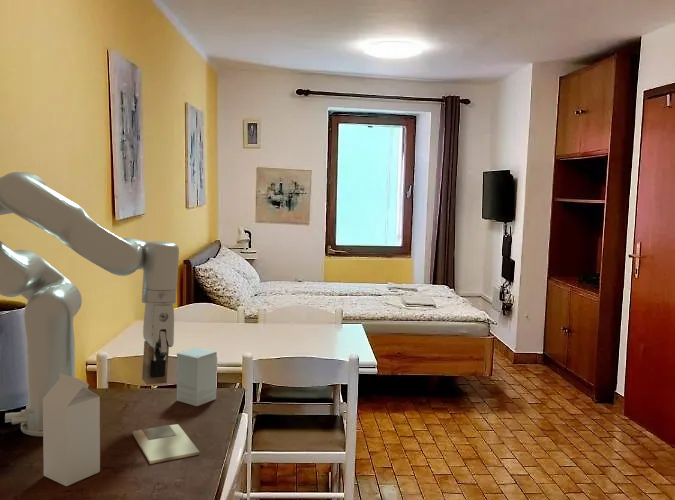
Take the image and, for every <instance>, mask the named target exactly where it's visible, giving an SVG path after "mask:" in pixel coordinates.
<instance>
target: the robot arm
mask: <svg viewBox="0 0 675 500" xmlns="http://www.w3.org/2000/svg"><path fill="white" fill-rule="evenodd" d="M9 214H15V215H17V216H18V217H19V218H21V219H23V220H25V221H27V222H28V223H30V224H32V225H33V226H35V227H37V228H39V229H41V230H42V231H44V232H45V233H47V234H49V235H51V236H52V237H54V238H56V239H57V240H59V241H60V242H61V243H62V244H64V245H65V246H67V247H68V248H70V249H71V250H72V251H73V252H75V253H76V254H78V255H79V256H80V257H82V258H84V259H86V260H87V261H89V262H91V263H92V264H94V265H96V266H97V267H99V268H100V269H103V270H104V271H106V272H109V273H111V274H112V275H115V276H120V277H124V276H125V277H126V276H129V275H132V274H133V273H135V272H136V271H138V270H143V273H142V274H143V275H142V291H141V303H143V304H144V305H145V306H144V312H143V313H144V314H143V327H142V328H143V329H142V331H143V332H142V335H143V339H144V341H146V342H147V343H148V344H149V345H150V346H151V347H153V360H151V368H150V377H151V378H156V377H164V376H165V364H166V353H167V344H168V346H169V348H172V347H174V341H175V310H174V305H175V304H176V303H177V290H178V289H177V288H178V273H179V272H178V271H179V257H180V256H179V255H180V248H179V245H177V244H176V243H175V242H171V241H147V240H142V239H137V238H132V237H124V238H122V237H119V236H118V235H115V233H112V232H111V231H109V230H107V229H106V228H104V227H102V226H101V225H100V224H98V223H97V222H96V221H94V220H93V219H92V218H91V217H90V216H89V215H88V213H87V212H86V210H85V209H84V208H83V207H82V206H80V204H78V203H76V202H75V201H72V200H71V199H69V198H68V197H65V196H64V195H63V194H61V193H59V192H57V191H56V190H54V189H53V188H50V187H49V186H48V185H47V184H46V183H45V181H44V180H43V179H42V178H41V176H40V177H39V176H38V175H36V174H34V173H31V172H26V171H25V172H22V171H21V172H20V171H13V172H9V173H7V174H5V175H3V176H0V216H2V215H3V216H4V215H9ZM0 296H3V297H6V298H7V297H8V298H15V297H19V296H22V297H23V298H24V299H26V300H27V302H26V304H25V308H24V312H23V314H24V315H23V317H24V318H23V320H24V328H25V334H26V347H27V348H26V350H27V354H26V355H27V387H28V390H27V394H28V395H27V396H28V398H27V399H28V400H27V402H28V403H27V404H28V405H27V404H26V405H25V407H26V408H25V409H21V410H20V411H19V412H18V411H17V412H5V415H4V420H5V421H4V423H11V425H17V424H20V430H21V431H20V432H22V433H23V434H25V435H29V436H32V437H43V398H44V397H45V395H46V394H47V393H48V392H49V391H50V389H51V388H52V387H53V386H54V385H55V384H56V382H57V381H58V380H59V373H62V374H65V375H68V376H71V377H74V378H76V349H75V348H76V347H75V346H76V345H75V343H76V341H75V331H74V317H75V316H76V314H78V313H79V311H80V309H81V307H82V303H83V302H82V301H83V299H82V298H83V297H82V293H81V291H80V289H79V288H78V287H77V286H76V285H75V284H74V283H73V282H72V281H71V280H70V279H68V278H67V277H66V276H65V275H64V274H62V273H61V272H60V271H59V270H58V269H56V268H55V267H54V266H53V265H52V264H50V263H49V262H48V261H46V259H44V258H43V257H42V256H41V255H39V254H38V253H37V254H36V253H35V252H33V251H31V250H28V249H16V250H13V249H12V248H11V247H9V246H8V245H6V244H5V243H4V242H2V241H1V240H0ZM166 343H167V344H166ZM156 344H160V346H157V347H155V346H156ZM156 349H159V351H157V353H156Z"/></svg>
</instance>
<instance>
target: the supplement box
mask: <svg viewBox="0 0 675 500" xmlns="http://www.w3.org/2000/svg"><path fill="white" fill-rule="evenodd" d="M217 353H218V352H217V351H214V350H210V349H205V348H201V347H194V348H190V349H187V350H184V351H180V352H177V353H176V401H177V402H180V403H184V404H188V405H189V406H193V407H198V406H199V407H200V406H201V405H204V404H206V403H209V402H212V401H214V400H216V399H217V359H218V357H217V355H218V354H217Z"/></svg>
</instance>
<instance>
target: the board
mask: <svg viewBox="0 0 675 500" xmlns="http://www.w3.org/2000/svg"><path fill="white" fill-rule="evenodd" d="M132 436H133V437H134V439H135V440H136V442H137V444H138V445H139V447H140V449H141V451H142V452H143V454H144V456H145V458H146V459H147V461H148V463H149V465H152V464H156V463H162V462H167V461H173V460H178V459H183V458H188V457H194V456H199V455H201V454H200V450H199V449H198V448H197V446H196V445H195V444H194V443H193V442H192V440H191V439H190V438H189V436H188V435H187V433H186V432H185V431H184V430H183V428H182V427H181V426H180V425H179V423H177V424H176V423H175V424H166V425H161V426H155V427H150V428H149V427H148V428H144V429H139V430H134V431H132Z"/></svg>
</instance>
